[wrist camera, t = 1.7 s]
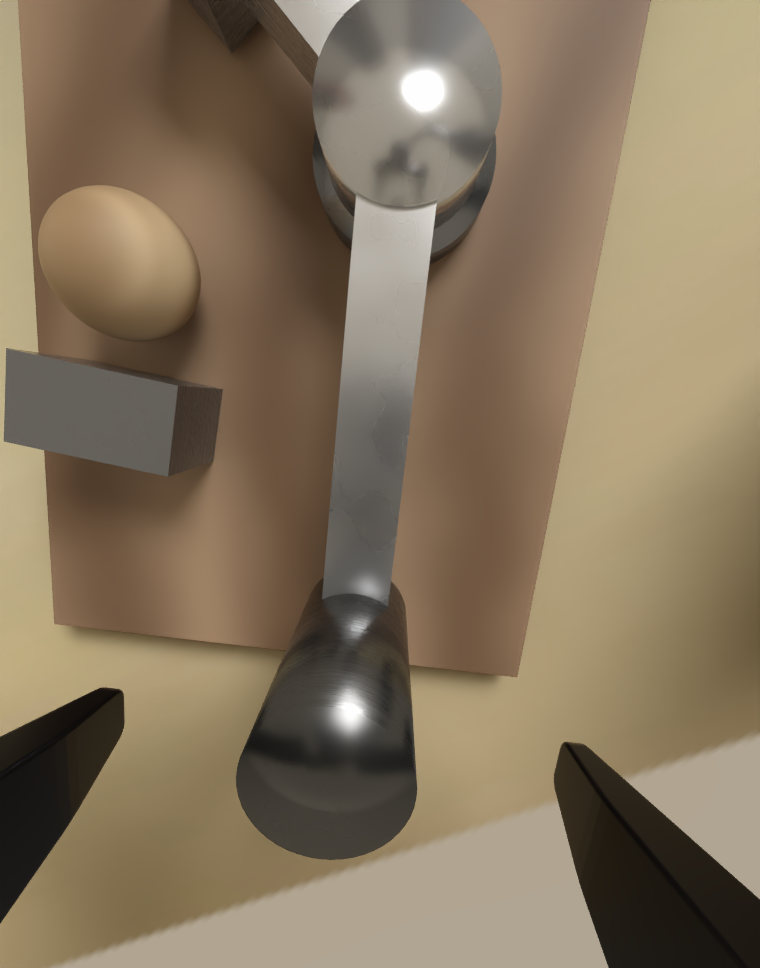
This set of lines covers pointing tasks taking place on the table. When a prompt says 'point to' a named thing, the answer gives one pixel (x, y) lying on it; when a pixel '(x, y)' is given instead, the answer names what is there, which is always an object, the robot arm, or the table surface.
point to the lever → (365, 398)
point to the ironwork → (159, 378)
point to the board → (322, 324)
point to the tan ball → (119, 263)
